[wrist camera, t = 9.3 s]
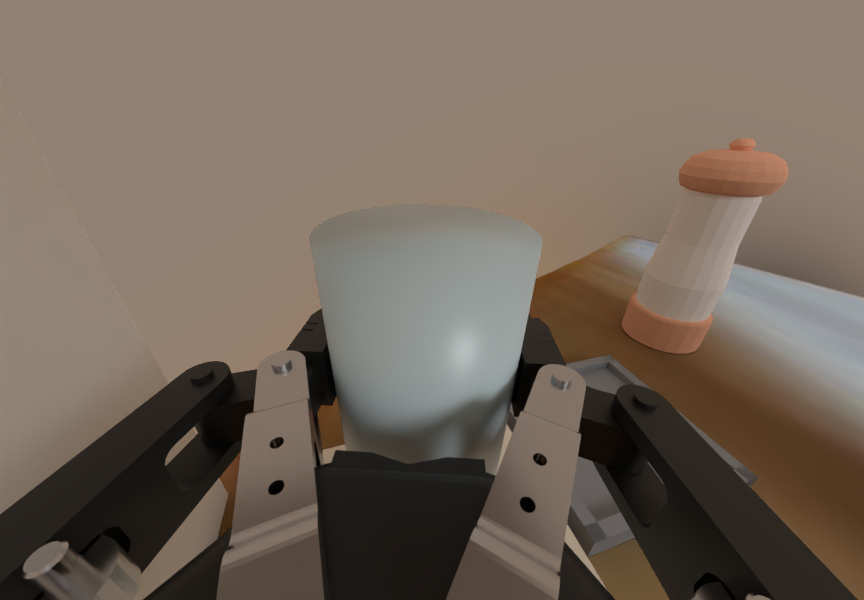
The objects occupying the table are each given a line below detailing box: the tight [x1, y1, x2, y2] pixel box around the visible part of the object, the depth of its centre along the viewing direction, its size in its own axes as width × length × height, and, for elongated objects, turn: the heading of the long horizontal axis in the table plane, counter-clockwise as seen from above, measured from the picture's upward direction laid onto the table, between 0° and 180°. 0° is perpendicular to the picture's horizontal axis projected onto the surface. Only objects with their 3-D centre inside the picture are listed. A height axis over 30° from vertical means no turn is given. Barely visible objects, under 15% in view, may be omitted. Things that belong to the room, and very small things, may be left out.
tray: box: [507, 355, 758, 557], centre depth 23 cm, size 12×12×2 cm
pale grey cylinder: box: [310, 205, 542, 476], centre depth 11 cm, size 6×6×11 cm
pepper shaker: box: [622, 138, 789, 354], centre depth 30 cm, size 7×7×19 cm
